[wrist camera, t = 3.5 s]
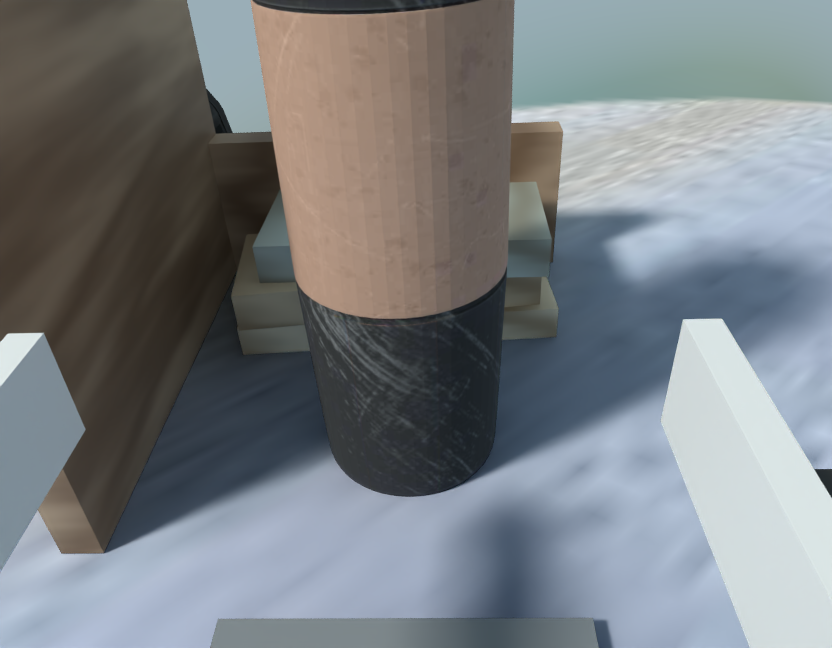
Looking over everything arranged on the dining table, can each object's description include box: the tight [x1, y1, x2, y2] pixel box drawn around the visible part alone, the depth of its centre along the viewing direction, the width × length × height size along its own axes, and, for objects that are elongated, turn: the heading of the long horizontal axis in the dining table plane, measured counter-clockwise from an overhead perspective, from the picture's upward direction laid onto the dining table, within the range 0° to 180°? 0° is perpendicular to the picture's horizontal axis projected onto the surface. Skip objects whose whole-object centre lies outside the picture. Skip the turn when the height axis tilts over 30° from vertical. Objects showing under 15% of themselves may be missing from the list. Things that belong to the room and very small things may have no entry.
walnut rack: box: [0, 0, 563, 553], centre depth 28 cm, size 21×22×20 cm
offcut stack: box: [231, 182, 559, 355], centre depth 36 cm, size 16×8×6 cm, turn 92°
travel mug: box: [251, 0, 514, 496], centre depth 24 cm, size 8×8×20 cm
